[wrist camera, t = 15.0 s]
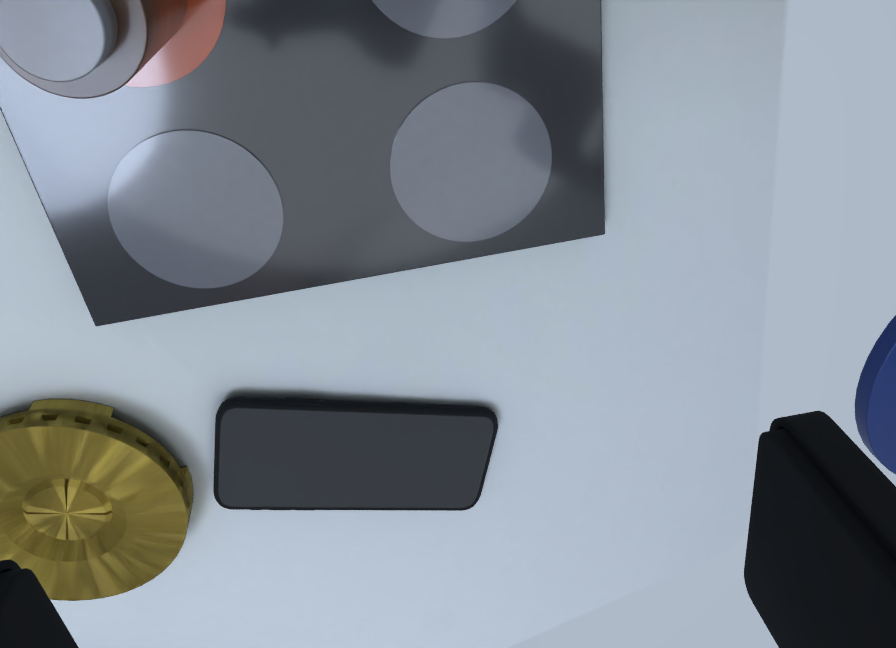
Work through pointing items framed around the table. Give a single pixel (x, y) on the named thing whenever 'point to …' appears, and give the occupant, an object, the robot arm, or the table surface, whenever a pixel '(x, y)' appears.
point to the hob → (320, 147)
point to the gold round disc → (88, 500)
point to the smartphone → (350, 455)
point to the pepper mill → (84, 41)
